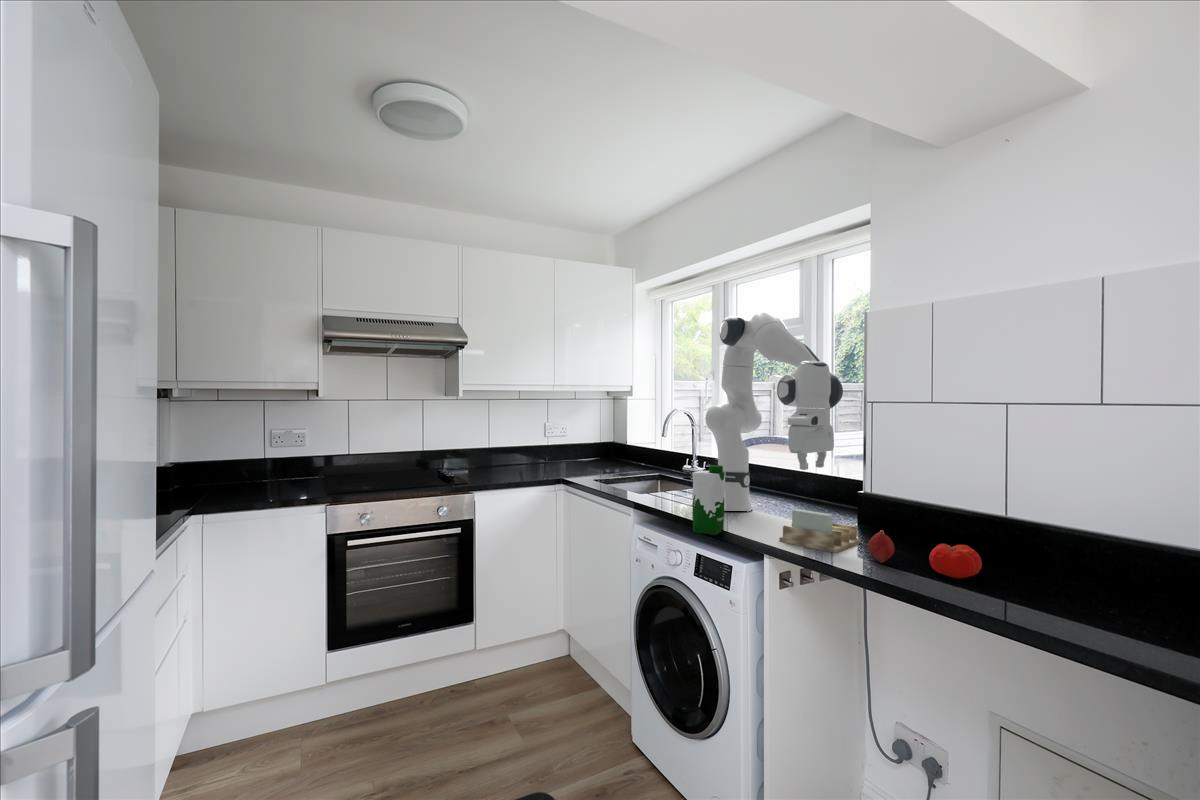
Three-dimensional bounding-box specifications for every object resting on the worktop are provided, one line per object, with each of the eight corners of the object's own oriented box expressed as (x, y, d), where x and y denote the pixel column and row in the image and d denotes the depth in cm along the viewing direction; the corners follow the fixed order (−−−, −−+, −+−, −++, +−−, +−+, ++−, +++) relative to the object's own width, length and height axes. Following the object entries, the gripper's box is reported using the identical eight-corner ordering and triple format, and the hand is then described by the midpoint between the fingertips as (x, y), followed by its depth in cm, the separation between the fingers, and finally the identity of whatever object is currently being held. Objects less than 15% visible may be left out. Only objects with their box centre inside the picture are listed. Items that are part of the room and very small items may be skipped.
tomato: (925, 575, 124) (926, 546, 124) (935, 565, 132) (935, 538, 132) (977, 585, 117) (977, 555, 117) (984, 574, 125) (984, 546, 126)
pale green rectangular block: (791, 538, 152) (792, 510, 152) (796, 537, 154) (797, 509, 154) (827, 545, 145) (827, 515, 145) (832, 544, 147) (832, 514, 147)
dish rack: (779, 541, 153) (779, 525, 153) (805, 532, 164) (805, 518, 164) (836, 552, 141) (836, 535, 142) (860, 543, 152) (860, 527, 152)
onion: (862, 560, 135) (862, 528, 135) (879, 558, 137) (880, 526, 137) (882, 566, 130) (882, 533, 130) (899, 564, 132) (900, 531, 132)
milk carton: (717, 536, 157) (718, 467, 158) (688, 532, 162) (689, 465, 162) (727, 530, 165) (728, 465, 165) (699, 527, 170) (700, 463, 170)
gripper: (818, 418, 160) (817, 465, 160) (784, 418, 146) (783, 469, 146) (840, 419, 155) (839, 467, 155) (806, 419, 141) (805, 472, 141)
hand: (811, 468), depth 150 cm, fingers open, 8 cm apart
